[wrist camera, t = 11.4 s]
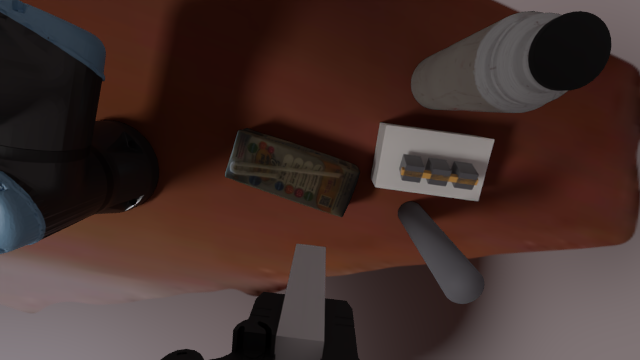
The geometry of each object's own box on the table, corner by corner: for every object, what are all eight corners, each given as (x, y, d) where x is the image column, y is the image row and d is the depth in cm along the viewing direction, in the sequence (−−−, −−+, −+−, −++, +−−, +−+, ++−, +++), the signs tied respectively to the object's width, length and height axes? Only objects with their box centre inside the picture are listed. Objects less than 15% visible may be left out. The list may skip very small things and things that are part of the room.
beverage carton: (247, 124, 51) (235, 127, 44) (360, 163, 51) (364, 172, 45) (234, 170, 52) (221, 179, 46) (343, 207, 53) (344, 221, 47)
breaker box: (370, 177, 52) (375, 187, 46) (380, 122, 49) (386, 124, 44) (461, 190, 51) (478, 201, 46) (475, 135, 49) (494, 139, 43)
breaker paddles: (396, 168, 45) (399, 180, 42) (401, 153, 43) (404, 164, 41) (467, 178, 44) (474, 190, 42) (473, 163, 43) (481, 175, 41)
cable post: (395, 222, 53) (439, 300, 32) (400, 200, 52) (447, 264, 31) (419, 225, 53) (479, 306, 32) (424, 203, 52) (488, 270, 31)
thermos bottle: (465, 105, 48) (635, 105, 21) (412, 113, 49) (512, 123, 22) (463, 50, 46) (645, -27, 19) (408, 59, 47) (510, -4, 20)
